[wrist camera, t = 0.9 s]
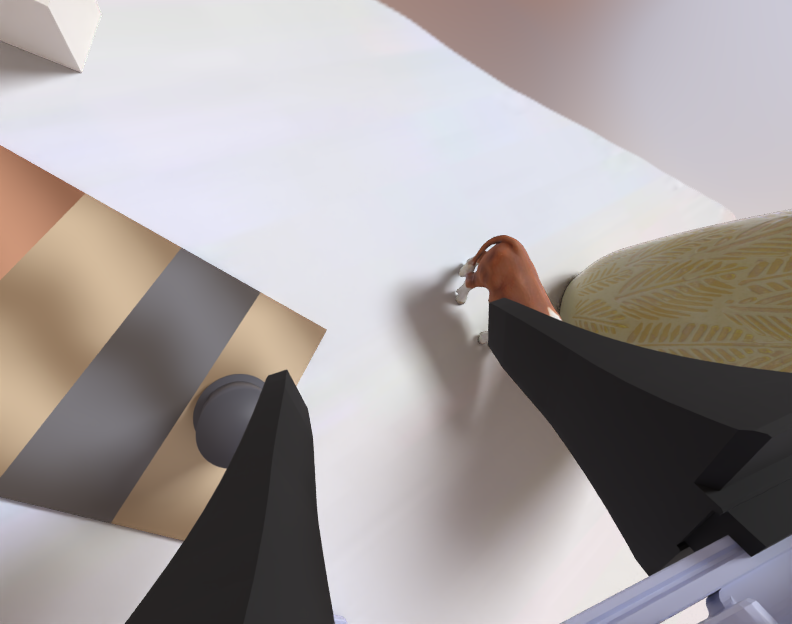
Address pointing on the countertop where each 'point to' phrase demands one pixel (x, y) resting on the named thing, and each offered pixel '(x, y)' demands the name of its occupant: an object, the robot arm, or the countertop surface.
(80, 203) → the track board
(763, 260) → the vase
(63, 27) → the die
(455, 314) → the countertop surface
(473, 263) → the bull figurine
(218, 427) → the dark grey rounded knob
